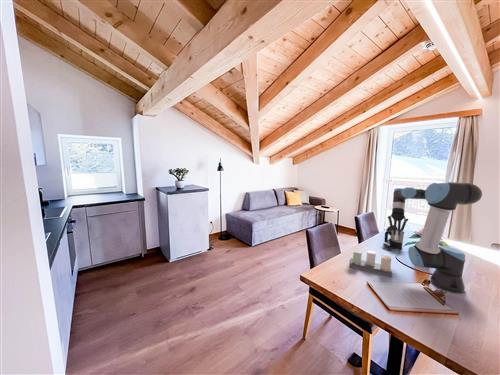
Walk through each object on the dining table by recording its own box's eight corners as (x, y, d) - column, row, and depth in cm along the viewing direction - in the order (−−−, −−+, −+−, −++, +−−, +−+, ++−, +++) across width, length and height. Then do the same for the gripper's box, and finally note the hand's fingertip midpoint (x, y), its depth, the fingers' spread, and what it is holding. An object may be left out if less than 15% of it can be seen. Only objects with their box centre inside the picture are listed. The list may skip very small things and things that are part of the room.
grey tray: (350, 259, 157) (351, 255, 157) (390, 268, 146) (390, 264, 145) (349, 267, 147) (350, 262, 146) (392, 277, 135) (393, 272, 134)
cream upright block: (366, 262, 151) (367, 250, 149) (374, 263, 148) (375, 251, 147) (366, 264, 147) (367, 252, 145) (374, 266, 144) (375, 254, 143)
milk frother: (402, 247, 183) (404, 230, 181) (403, 253, 169) (405, 236, 167) (382, 243, 190) (384, 227, 188) (382, 249, 177) (384, 232, 175)
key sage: (352, 261, 151) (353, 249, 150) (360, 263, 149) (361, 251, 147) (352, 264, 147) (353, 252, 146) (360, 265, 145) (361, 253, 143)
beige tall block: (380, 267, 143) (381, 255, 142) (389, 269, 141) (390, 256, 139) (380, 270, 139) (382, 257, 138) (389, 272, 137) (391, 259, 136)
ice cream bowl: (402, 242, 192) (404, 226, 190) (389, 242, 193) (391, 226, 191) (394, 238, 203) (396, 223, 201) (382, 238, 203) (384, 223, 201)
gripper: (407, 211, 158) (405, 242, 153) (387, 208, 164) (384, 238, 159) (410, 209, 152) (408, 241, 147) (389, 206, 157) (386, 237, 152)
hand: (396, 239), depth 153 cm, fingers closed
